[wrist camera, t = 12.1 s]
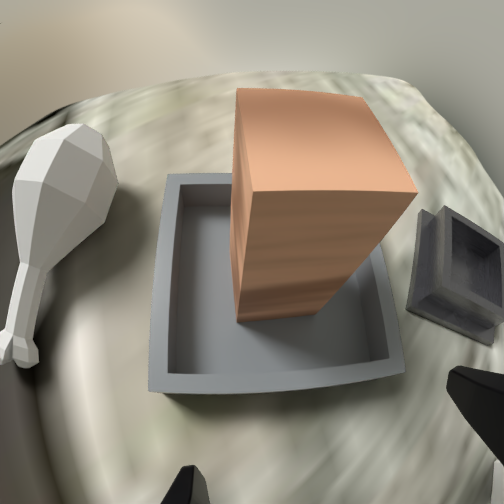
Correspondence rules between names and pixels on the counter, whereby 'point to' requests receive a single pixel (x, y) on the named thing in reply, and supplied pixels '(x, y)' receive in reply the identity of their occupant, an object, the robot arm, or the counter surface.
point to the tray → (254, 332)
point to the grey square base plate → (457, 275)
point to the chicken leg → (53, 220)
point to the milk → (498, 484)
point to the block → (307, 198)
